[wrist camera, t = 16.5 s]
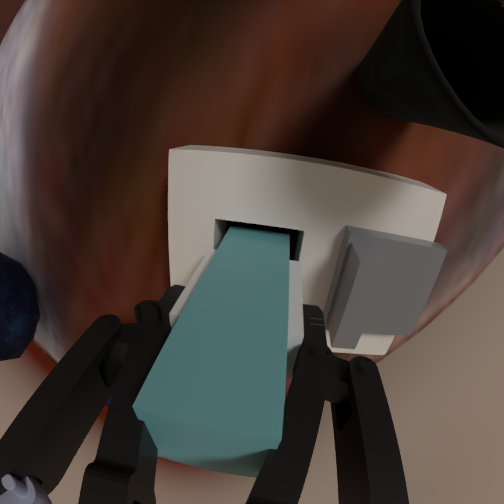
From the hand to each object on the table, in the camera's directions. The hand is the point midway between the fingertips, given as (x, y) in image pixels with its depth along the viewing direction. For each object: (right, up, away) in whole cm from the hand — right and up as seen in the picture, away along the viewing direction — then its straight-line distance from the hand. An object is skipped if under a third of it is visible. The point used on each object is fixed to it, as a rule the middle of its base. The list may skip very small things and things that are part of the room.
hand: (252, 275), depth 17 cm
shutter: (+9, -1, 0) cm, 9 cm away
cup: (+10, +14, -2) cm, 17 cm away
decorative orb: (-33, -3, +12) cm, 35 cm away
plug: (0, +1, +2) cm, 3 cm away
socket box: (+4, +2, +5) cm, 6 cm away
